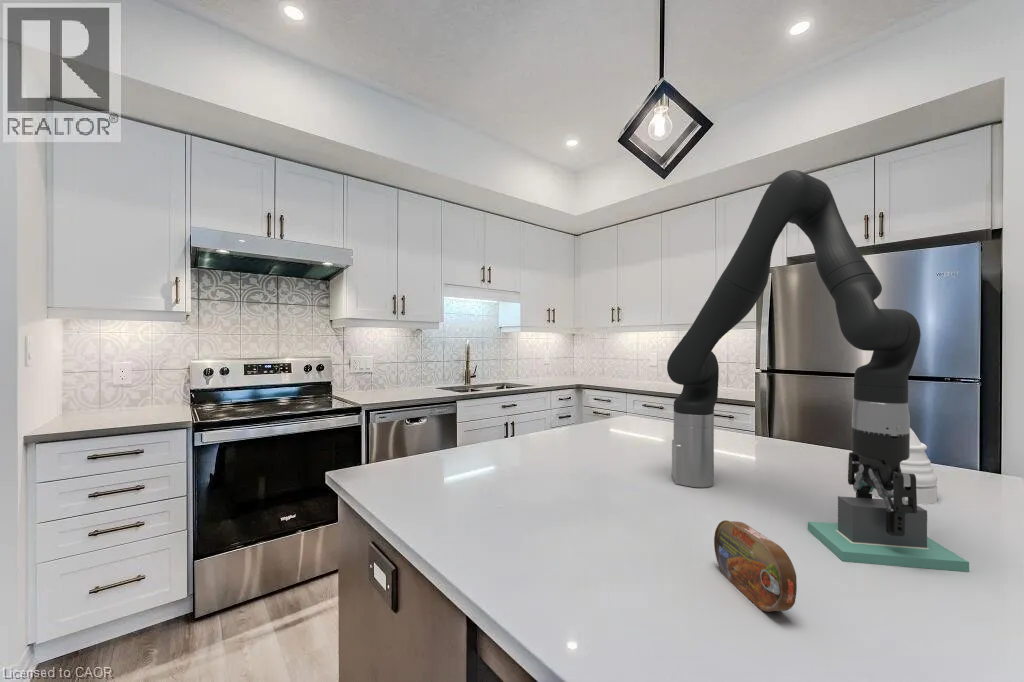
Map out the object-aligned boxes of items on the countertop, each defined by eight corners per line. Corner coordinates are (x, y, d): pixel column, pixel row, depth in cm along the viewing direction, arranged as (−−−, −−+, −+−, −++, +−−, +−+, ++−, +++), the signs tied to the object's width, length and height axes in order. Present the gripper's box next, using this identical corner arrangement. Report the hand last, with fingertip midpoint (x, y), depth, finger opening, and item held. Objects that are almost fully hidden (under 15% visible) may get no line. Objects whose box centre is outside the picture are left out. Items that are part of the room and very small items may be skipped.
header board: (842, 561, 70) (842, 529, 70) (807, 529, 82) (807, 502, 82) (969, 571, 67) (969, 538, 67) (913, 537, 79) (913, 509, 79)
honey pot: (866, 481, 110) (866, 409, 110) (938, 494, 101) (938, 415, 101) (857, 494, 101) (858, 415, 101) (935, 509, 92) (936, 422, 92)
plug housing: (852, 542, 73) (852, 505, 73) (837, 530, 78) (837, 496, 78) (927, 548, 71) (927, 510, 71) (907, 535, 76) (907, 500, 76)
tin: (712, 565, 69) (712, 511, 69) (731, 564, 69) (731, 510, 69) (778, 627, 54) (778, 558, 54) (802, 626, 54) (802, 557, 54)
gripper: (832, 419, 82) (832, 506, 82) (880, 435, 68) (879, 540, 68) (879, 420, 81) (878, 509, 81) (937, 438, 67) (936, 545, 67)
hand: (878, 524), depth 75 cm, fingers open, 8 cm apart
